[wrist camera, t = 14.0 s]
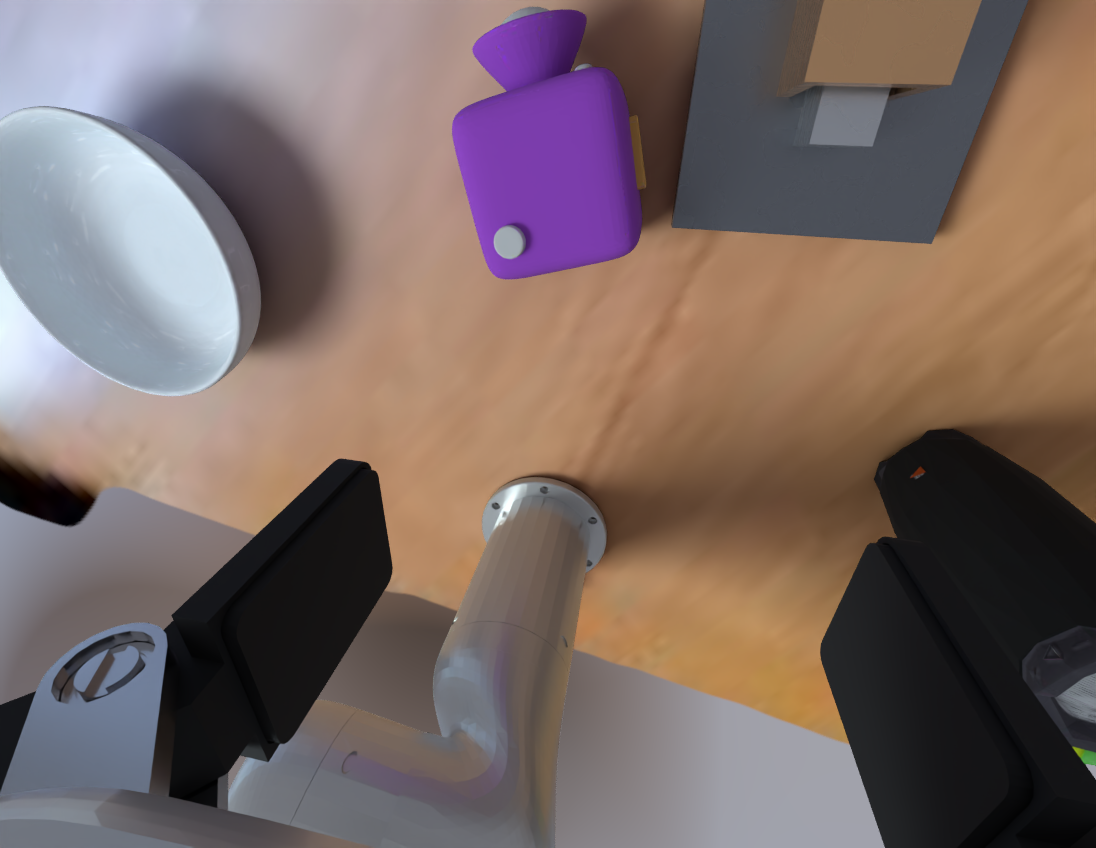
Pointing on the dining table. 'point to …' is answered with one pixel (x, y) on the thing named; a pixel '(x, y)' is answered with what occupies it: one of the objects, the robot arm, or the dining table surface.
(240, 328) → the serving bowl
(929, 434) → the portable speaker
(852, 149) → the plate
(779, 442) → the dining table surface
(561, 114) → the toy camera
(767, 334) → the dining table surface
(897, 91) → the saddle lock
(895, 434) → the dining table surface
